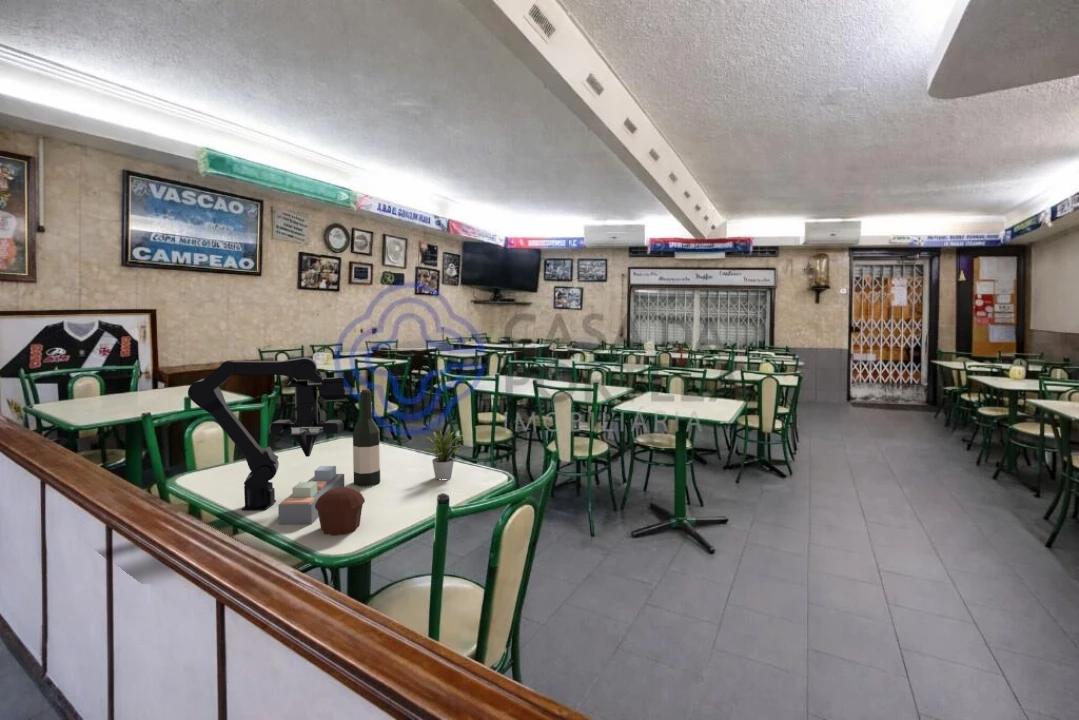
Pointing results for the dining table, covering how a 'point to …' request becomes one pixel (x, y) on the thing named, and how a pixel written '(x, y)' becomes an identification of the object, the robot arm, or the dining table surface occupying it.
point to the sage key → (305, 490)
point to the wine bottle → (366, 445)
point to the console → (305, 504)
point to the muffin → (340, 510)
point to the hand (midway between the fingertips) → (308, 456)
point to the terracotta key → (320, 484)
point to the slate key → (325, 473)
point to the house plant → (443, 455)
